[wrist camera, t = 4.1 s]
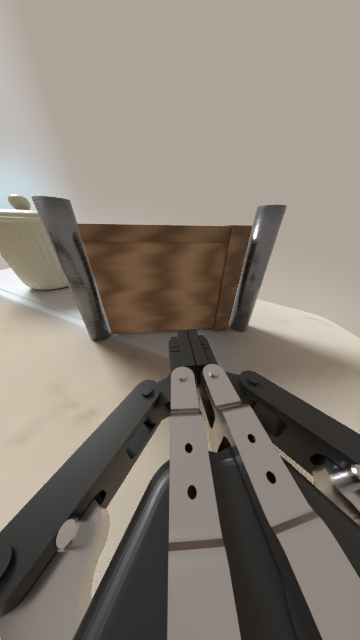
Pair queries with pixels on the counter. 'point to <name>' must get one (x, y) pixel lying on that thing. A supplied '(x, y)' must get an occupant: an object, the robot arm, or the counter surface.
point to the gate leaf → (166, 274)
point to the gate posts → (82, 282)
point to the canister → (29, 247)
